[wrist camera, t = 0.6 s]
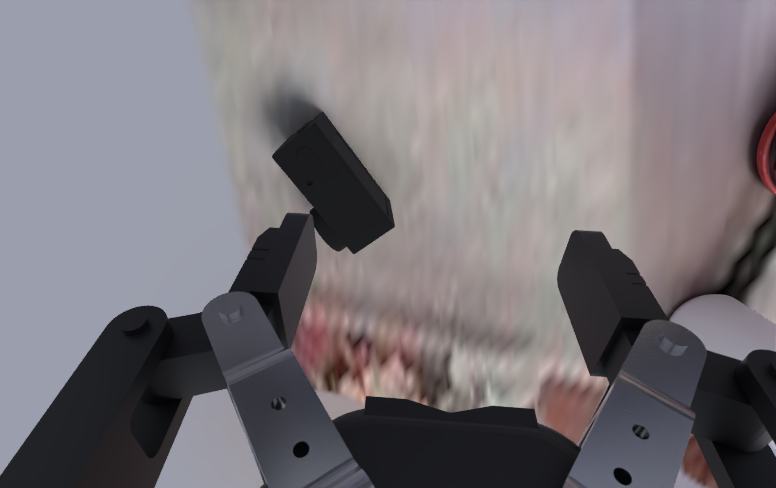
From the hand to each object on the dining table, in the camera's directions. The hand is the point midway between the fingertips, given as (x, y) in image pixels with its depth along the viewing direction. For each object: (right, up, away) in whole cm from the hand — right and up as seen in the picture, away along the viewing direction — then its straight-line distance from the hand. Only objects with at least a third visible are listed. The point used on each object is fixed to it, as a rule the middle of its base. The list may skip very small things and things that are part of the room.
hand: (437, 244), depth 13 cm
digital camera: (-7, +7, +26) cm, 28 cm away
